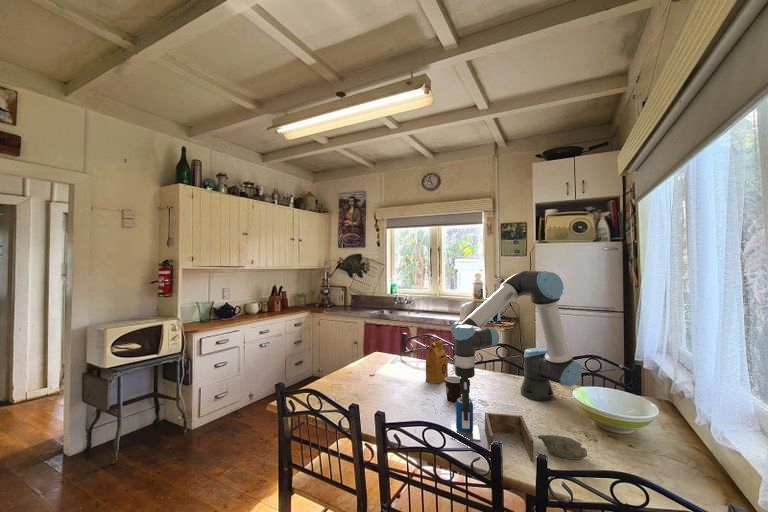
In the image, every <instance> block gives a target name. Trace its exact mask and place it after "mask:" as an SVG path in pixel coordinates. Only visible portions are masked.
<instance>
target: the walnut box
mask: <svg viewBox="0 0 768 512" xmlns="http://www.w3.org/2000/svg"><path fill="white" fill-rule="evenodd" d="M484 433H485V437H486V441H487V442H486V443H487V447H488V451H489V450H490V445H491V443H492V442H493V443H494V433H499V434H510V435H519V437H520V438H521V441H522V443H523V447H524V449H525V451H526V454H527V457H528V459H529V461H530V462H534V439H533V437H532V434H531V432H530V430H529V428H528V425H527V424H526V421H525V419H524V417H523V415H518V414H508V413H507V414H505V413H496V412H495V413H494V412H486V411H485V412H484Z"/></svg>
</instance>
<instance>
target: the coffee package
mask: <svg viewBox="0 0 768 512" xmlns="http://www.w3.org/2000/svg"><path fill="white" fill-rule="evenodd" d="M443 344H444V340H443V339H440V340H438V341H433V342H432V343H430V345H429V348H428V349H427V351H426V354H425V381H426V382H430V383H433V384H439V383H441V382H445V378H446V377H449V366H448V365H449V360H448V355H447V353H446V351H445V349H444V347H443Z"/></svg>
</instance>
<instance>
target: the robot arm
mask: <svg viewBox="0 0 768 512" xmlns="http://www.w3.org/2000/svg"><path fill="white" fill-rule="evenodd" d="M563 293H564V282H563V280H562V278H561V277H560V276H559V275H558V274H557V273H556V272H551V271H547V270H543V271H540V270H536V271H535V270H522V271H519V272H516V273H515V274H512V275H511V276H509V277H508V278H507V279H506V280H504V281H503V282H502V283H501V284H500V286H499V289H497V290H496V291H494V293H492V295H490V297H488V298H487V299H486V300H485V301H483V303H481V304H480V306H478V307H477V308H475V310H474V311H473V312H472V313H470V314H469V315H468V316H467V317H466V318H465V319H464V320H462V321H455V322H453V324H452V325H451V327H450V332H451V333H450V334H452V337H453V338H454V356H453V359H454V364H455V366H454V375H455V377H460V378H461V379H460V386H461V397H462V409H460V411H462V428H466V429H470V410H469V399H470V393H471V392H470V391H471V388H470V387H471V381H470V378H473V377H475V373H476V372H475V363H476V362H475V350H478V349H485V348H491V347H496V346H497V345H499V343H500V334H499V332H498V330H497V329H496V328H495V327H484V326H486V325H487V323H488V322H490V321H491V320H492V319H493V318H494V317H495V316H496V315H498V314H499V312H501V311H502V310H503V309H504V308H505V307H506V306H508V304H509V303H511V302H512V301H515V300H517V299H518V298H520V297H521V296H522V297H524V296H526V297H530V300H531V303H532V304H533V305H535V306H536V308H537V309H536V310H537V313H538V319H539V322H540V327H541V332H542V336H543V339H544V345H545V348H544V347H533V348H532V347H531V348H526V349H525V350H524V351H523V352H524V354H523V355H524V356H523V372H524V373H523V374H524V375H523V376H524V377H523V381H522V383H521V386H520V394H521V395H522V396H523V397H525V398H527V399H528V400H533V401H540V402H549V400H550V401H552V399H553V398H554V397H555V393H554V390H553V387H552V384H551V382H554V383H556V384H557V383H558V384H559V385H561V386H566V387H570V388H571V387H574V386H575V385H577V384H578V383H579V380H580V379H581V377H582V371H583V369H582V365H581V364H580V362H578V361H575V360H574V356H573V353H572V352H571V351H569V350H568V346H567V341H566V337H565V333H564V328H563V324H562V319H561V315H560V311H559V310H560V309H559V307H558V306H559V305H558V302H559V301H560V300H561V297H562V295H563ZM483 327H484V328H483ZM550 381H551V382H550ZM553 400H554V399H553Z"/></svg>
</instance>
